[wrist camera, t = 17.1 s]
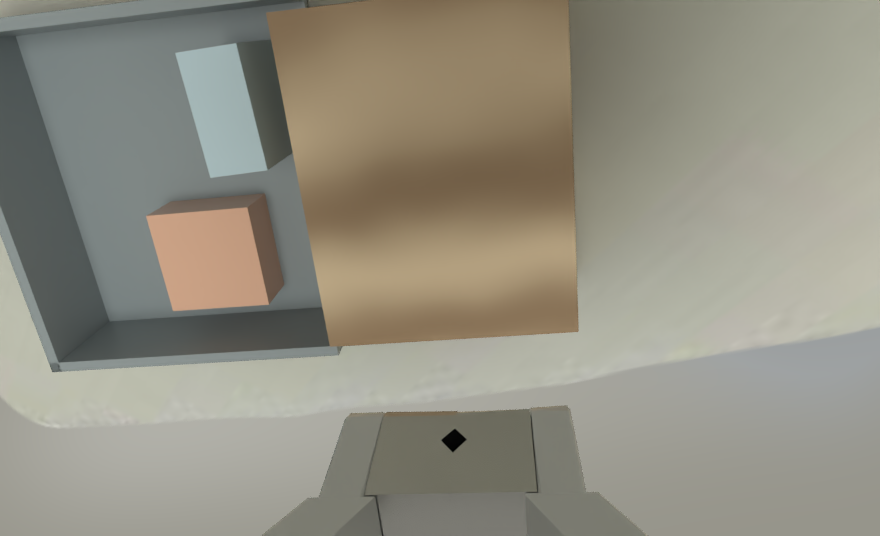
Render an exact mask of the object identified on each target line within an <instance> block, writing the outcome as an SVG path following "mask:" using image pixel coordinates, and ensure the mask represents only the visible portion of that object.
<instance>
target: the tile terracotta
mask: <svg viewBox="0 0 880 536" xmlns="http://www.w3.org/2000/svg"><path fill="white" fill-rule="evenodd" d="M146 218H147V221H148V225H149V228H150V232H151V235H152V239H153V242H154V246H155V249H156V253H157V256H158V260H159V263H160V267H161V270H162V274H163V277H164V281H165V284H166V288H167V291H168V295H169V298H170V302H171V305H172V309H173V311H182V310H197V309H212V308H227V307H242V306H256V305H269V304H270V303H271V301H272V300H273V299H274V297H275V296H276V295H277V294H278V292H279V291H280V290H281V288H282V287H283V286H284V281H283V276H282V272H281V267H280V262H279V258H278V253H277V248H276V243H275V239H274V234H273V229H272V225H271V220H270V215H269V210H268V206H267V201H266V196H265V193H263V194H252V195H240V196H229V197H217V198H206V199H194V200H183V201H171V202H169V203H167V204H166V205H164V206H162V207H160V208H159V209H157V210H155V211H154V212H152V213H150V214H148V215H147V216H146Z"/></svg>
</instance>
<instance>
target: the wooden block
mask: <svg viewBox="0 0 880 536" xmlns="http://www.w3.org/2000/svg"><path fill="white" fill-rule="evenodd" d="M266 16H267V21H268V26H269V31H270V37H271V42H272V47H273V52H274V58H275V63H276V68H277V73H278V78H279V84H280V89H281V94H282V99H283V104H284V110H285V115H286V120H287V125H288V131H289V136H290V141H291V146H292V151H293V157H294V162H295V167H296V172H297V177H298V183H299V188H300V193H301V198H302V204H303V209H304V214H305V219H306V224H307V230H308V235H309V240H310V245H311V250H312V256H313V261H314V266H315V271H316V277H317V282H318V287H319V292H320V297H321V303H322V308H323V313H324V318H325V323H326V329H327V334H328V339H329V344H330V347H335V346H351V345H368V344H384V343H401V342H417V341H434V340H450V339H467V338H483V337H500V336H517V335H533V334H550V333H566V332H578V299H577V266H576V232H575V199H574V166H573V133H572V100H571V67H570V34H569V1H568V0H368V1H359V2H351V3H342V4H334V5H326V6H317V7H309V8H301V9H292V10H284V11H275V12H267V13H266Z"/></svg>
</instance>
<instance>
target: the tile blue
mask: <svg viewBox="0 0 880 536" xmlns="http://www.w3.org/2000/svg"><path fill="white" fill-rule="evenodd" d="M175 54H176V58H177V61H178V65H179V68H180V72H181V75H182V79H183V83H184V86H185V90H186V93H187V97H188V100H189V104H190V107H191V111H192V114H193V118H194V121H195V125H196V129H197V132H198V136H199V139H200V143H201V146H202V150H203V153H204V157H205V160H206V164H207V167H208V171H209V175H210V178H214V177H221V176H229V175H236V174H244V173H251V172H259V171H266V170H269V169H270V168H272V167H273V166H274V165H276V164H277V163H279V162H280V161H282V160H283V159H284V158H286V157H287V156H289V155H290V154H292V153H293V151H292V146H291V141H290V136H289V131H288V125H287V120H286V115H285V110H284V104H283V99H282V94H281V89H280V84H279V78H278V73H277V68H276V63H275V58H274V52H273V47H272V42H271V39H269V40H260V41H251V42H242V43H234V44H228V45H221V46H215V47H209V48H203V49H196V50H190V51H184V52H178V53H175Z"/></svg>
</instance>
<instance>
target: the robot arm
mask: <svg viewBox="0 0 880 536" xmlns="http://www.w3.org/2000/svg"><path fill="white" fill-rule="evenodd" d="M261 536H648V535H647V534H646V533H644V532H643V531H642V530H641V529H640V528H639V527H638V526H637V525H635V524H634V523H633V522H632V521H631V520H630V519H628V518H627V517H626V516H625V515H624V514H623V513H622V512H621V511H619V510H618V509H617V508H616V507H615V506H614V505H612V504H611V503H610V502H609V501H608V500H607V499H606V498H604V497H603V496H602V495H601V494H600V493H599V492H586V488H585V483H584V477H583V472H582V467H581V462H580V457H579V452H578V447H577V442H576V437H575V431H574V426H573V421H572V416H571V411H570V409H569V408H568V407H567V406H551V407H537V408H531V409H519V410H496V411H471V412H457V411H442V412H387V413H383V412H379V413H378V412H377V413H351V414H350V415H349V416H348V417H347V418H346V419H345V421H344V424H343V427H342V430H341V433H340V436H339V439H338V442H337V445H336V448H335V451H334V454H333V457H332V460H331V463H330V465H329V469H328V471H327V474H326V477H325V480H324V483H323V486H322V489H321V492H320V495H319V498H307V499H306V500H305V501H303V502H302V503H301V504H300V505H298V506H297V507H296V508H295V509H293V510H292V511H291V512H290V513H289V514H287V515H286V516H285V517H284V518H282V519H281V520H280V521H279V522H277V523H276V524H275V525H274V526H272V527H271V528H270V529H269V530H268V531H266V532H265V533H264V534H263V535H261Z"/></svg>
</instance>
